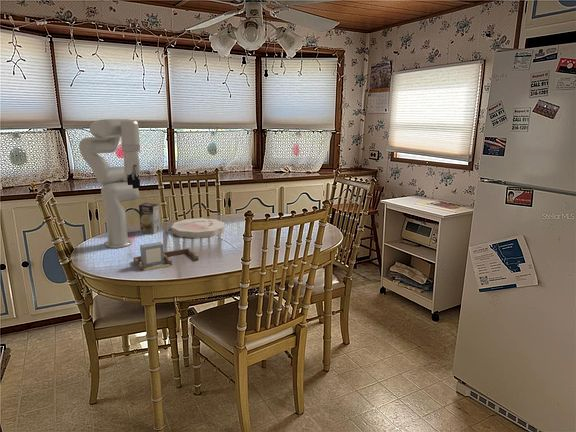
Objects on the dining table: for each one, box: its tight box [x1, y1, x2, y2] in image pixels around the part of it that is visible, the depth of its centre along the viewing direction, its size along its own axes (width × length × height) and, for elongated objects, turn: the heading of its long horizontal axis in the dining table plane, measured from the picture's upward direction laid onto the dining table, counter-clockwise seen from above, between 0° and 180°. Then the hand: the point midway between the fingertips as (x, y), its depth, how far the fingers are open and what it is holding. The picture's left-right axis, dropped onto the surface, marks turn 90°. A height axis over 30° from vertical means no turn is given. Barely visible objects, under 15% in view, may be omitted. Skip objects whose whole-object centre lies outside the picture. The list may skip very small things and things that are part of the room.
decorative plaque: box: [170, 217, 226, 239], centre depth 236 cm, size 30×4×30 cm
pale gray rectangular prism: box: [139, 241, 165, 268], centre depth 182 cm, size 4×9×9 cm, turn 124°
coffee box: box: [138, 202, 161, 235], centre depth 229 cm, size 9×6×16 cm
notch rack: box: [133, 248, 200, 272], centre depth 186 cm, size 14×26×3 cm, turn 123°
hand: (133, 186), depth 185 cm, fingers open, 9 cm apart
